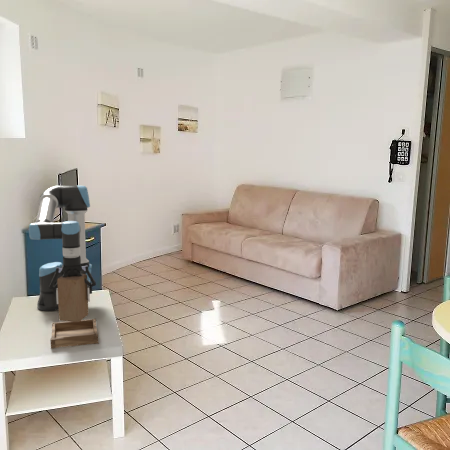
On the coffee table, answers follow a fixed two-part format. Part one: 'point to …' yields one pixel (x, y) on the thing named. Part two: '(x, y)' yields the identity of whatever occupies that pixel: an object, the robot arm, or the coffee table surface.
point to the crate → (74, 333)
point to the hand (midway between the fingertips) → (73, 301)
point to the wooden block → (72, 298)
